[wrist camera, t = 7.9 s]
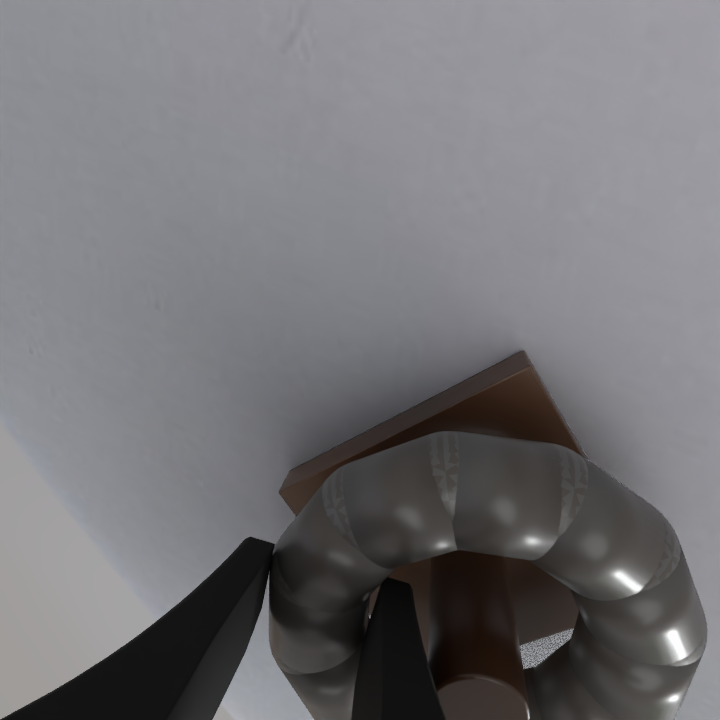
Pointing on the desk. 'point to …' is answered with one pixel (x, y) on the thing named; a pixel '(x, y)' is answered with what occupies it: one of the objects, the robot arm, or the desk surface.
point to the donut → (502, 538)
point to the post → (463, 568)
